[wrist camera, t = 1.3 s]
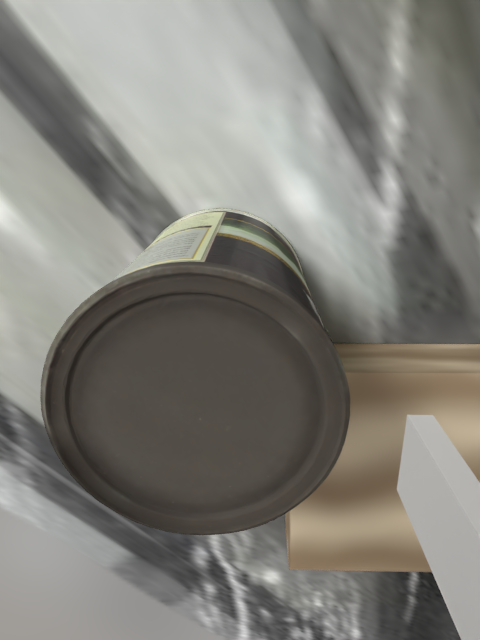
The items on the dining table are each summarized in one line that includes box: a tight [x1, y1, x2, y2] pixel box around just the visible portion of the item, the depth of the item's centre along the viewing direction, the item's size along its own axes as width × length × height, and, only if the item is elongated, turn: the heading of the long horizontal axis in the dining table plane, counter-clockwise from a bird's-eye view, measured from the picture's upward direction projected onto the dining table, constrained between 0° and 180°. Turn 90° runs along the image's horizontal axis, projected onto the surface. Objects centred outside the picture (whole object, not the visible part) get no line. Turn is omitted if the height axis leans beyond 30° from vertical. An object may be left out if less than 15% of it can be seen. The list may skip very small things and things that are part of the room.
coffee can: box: [41, 208, 350, 535], centre depth 22 cm, size 10×10×14 cm
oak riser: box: [285, 344, 480, 572], centre depth 30 cm, size 15×15×4 cm
